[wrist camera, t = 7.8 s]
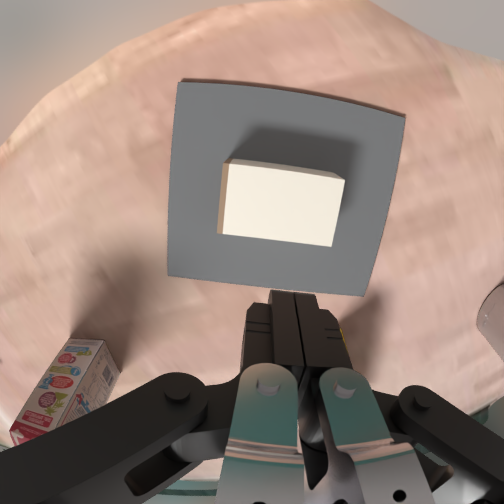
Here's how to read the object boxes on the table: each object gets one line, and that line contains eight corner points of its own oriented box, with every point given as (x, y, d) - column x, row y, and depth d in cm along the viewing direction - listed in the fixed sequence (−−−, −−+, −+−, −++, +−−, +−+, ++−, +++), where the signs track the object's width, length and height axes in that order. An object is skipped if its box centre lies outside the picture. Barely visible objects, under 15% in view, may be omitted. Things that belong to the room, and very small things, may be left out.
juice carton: (120, 373, 40) (69, 496, 20) (86, 370, 40) (30, 479, 20) (104, 340, 37) (35, 469, 17) (69, 338, 37) (-2, 450, 17)
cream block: (345, 180, 24) (223, 163, 23) (331, 246, 26) (216, 233, 26) (333, 172, 27) (227, 158, 27) (322, 231, 30) (222, 219, 29)
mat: (403, 118, 25) (405, 118, 25) (362, 294, 33) (363, 296, 33) (179, 82, 25) (177, 82, 24) (168, 273, 33) (167, 275, 32)
